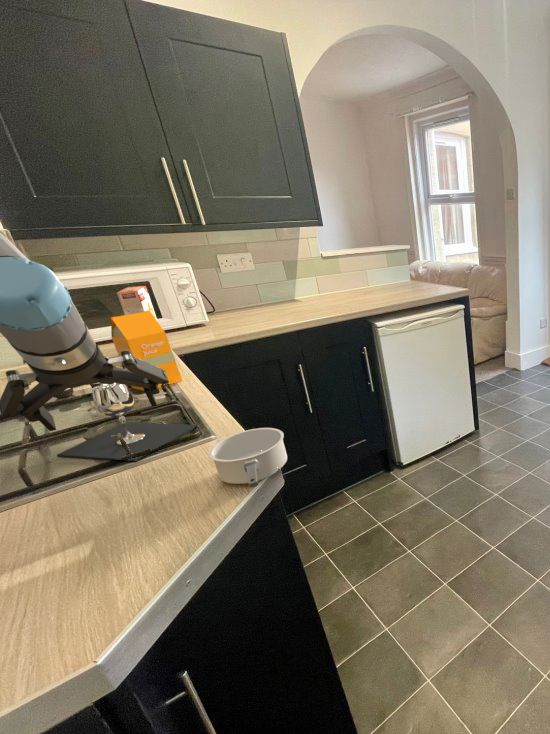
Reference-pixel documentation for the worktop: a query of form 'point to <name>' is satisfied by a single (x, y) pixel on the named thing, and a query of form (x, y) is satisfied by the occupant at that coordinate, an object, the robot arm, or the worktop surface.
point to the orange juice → (144, 342)
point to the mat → (110, 450)
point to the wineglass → (116, 405)
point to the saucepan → (249, 455)
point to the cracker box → (135, 300)
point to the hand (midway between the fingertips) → (104, 411)
